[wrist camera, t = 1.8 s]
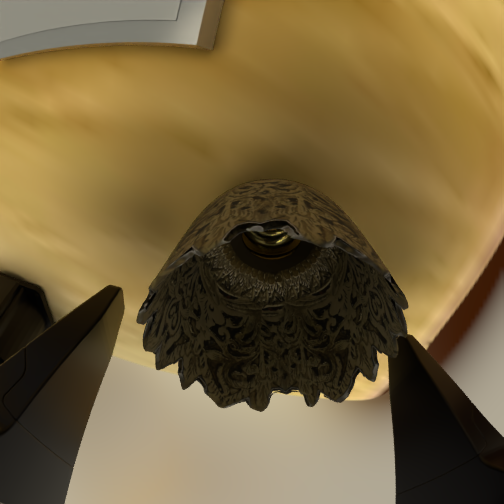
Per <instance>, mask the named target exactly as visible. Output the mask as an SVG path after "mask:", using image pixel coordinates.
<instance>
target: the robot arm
mask: <svg viewBox="0 0 504 504" xmlns="http://www.w3.org/2000/svg"><path fill="white" fill-rule="evenodd" d="M124 309H125V306H124V298H123V290H122V288H121V287H117V286H113V285H108V286H106V287H105V288H104V289H102V290H101V291H99V292H98V293H96V294H95V295H94V296H92V297H91V298H89V299H88V300H87V301H85V302H84V303H82V304H81V305H80V306H78V307H77V308H75V309H74V310H73V311H71V312H70V313H69V314H67V315H66V316H64V317H63V318H62V319H60V320H59V321H58V322H56V323H55V324H54V322H53V319H52V316H51V314H50V311H49V308H48V305H47V303H46V300H45V297H44V294H43V291H42V290H41V289H40V288H39V287H37V286H34V285H31V284H29V283H26V282H23V281H20V280H17V279H14V278H12V277H9V276H6V275H3V274H1V273H0V504H64V503H65V499H66V495H67V491H68V487H69V483H70V479H71V475H72V472H73V467H74V464H75V461H76V457H77V454H78V450H79V447H80V444H81V441H82V437H83V434H84V431H85V428H86V425H87V422H88V419H89V416H90V413H91V410H92V407H93V405H94V402H95V399H96V396H97V393H98V391H99V388H100V385H101V383H102V380H103V377H104V375H105V372H106V369H107V367H108V364H109V362H110V359H111V356H112V353H113V350H114V346H115V342H116V339H117V335H118V331H119V328H120V325H121V321H122V318H123V314H124ZM397 343H398V355H397V357H396V358H391V357H389V356H388V367H389V394H390V404H391V413H392V423H393V435H394V451H395V475H396V504H504V437H503V436H502V435H501V434H500V433H499V432H498V431H497V430H496V429H495V428H494V427H493V426H492V425H491V424H490V422H489V421H488V420H487V419H486V418H485V417H484V416H483V415H482V414H481V412H480V411H479V410H478V409H477V408H476V406H475V405H474V404H473V403H471V400H470V399H469V398H468V397H467V396H466V395H465V393H464V392H463V391H462V390H461V389H460V388H459V387H458V385H457V384H456V383H455V382H454V381H453V380H452V379H451V377H450V376H449V375H448V374H447V373H446V372H445V371H444V369H443V368H442V367H441V366H440V365H439V364H438V363H437V362H436V360H435V359H434V358H433V357H432V356H431V355H430V354H429V353H428V352H427V351H426V349H425V348H424V347H423V346H422V345H421V344H420V343H419V342H418V341H417V340H416V339H415V338H414V337H413V336H412V335H410V334H407V337H406V338H405V337H403V336H399V337H398V338H397Z"/></svg>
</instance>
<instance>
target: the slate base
mask: <svg viewBox="0 0 504 504" xmlns="http://www.w3.org/2000/svg"><path fill="white" fill-rule="evenodd" d="M223 3H224V0H0V61H2V60H7V59H11V58H16V57H21V56H26V55H31V54H36V53H42V52H49V51H56V50H64V49H73V48H83V47H97V46H121V45H146V46H171V47H185V48H196V49H206V50H213V46H214V41H215V37H216V32H217V28H218V24H219V19H220V15H221V11H222V7H223Z"/></svg>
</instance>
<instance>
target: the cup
mask: <svg viewBox="0 0 504 504" xmlns="http://www.w3.org/2000/svg"><path fill="white" fill-rule="evenodd" d="M274 228H276V229H281V230H279V231H275V232H268V231H266V230H270V229H274ZM148 289H149V294H148V296H147V298H146V300H145V301H144V303H143V304H142V306H141V308H140V310H139V313H138V316H137V323H139V324H142V325H144V324H145V323H146V322H147V323H146V327H145V331H144V334H143V347H144V350H145V351H149V352H153V354H155V355H156V356H155V359H156V360H155V365H156V369H157V370H160V369H163V368H165V367H167V366H169V365H171V364H172V363H173V364H175V363H177V362H178V367H179V368H178V375H179V378H180V382H181V386H182V389H183V390H185V389H187V388H188V387H189V386H190V385H191V384H193V383H194V381H196V380H197V381H198V382H199V383H200V384H201V385H202V386H203V388H204V392H205V394H207V395H208V396H209V397H210V398H211V399H212V400H213V401H214V402H215V403H216V404H217V406H218V407H221V408H227V407H230V406H232V405H235V404H237V403H241V402H245V401H246V403H247V404H248V405H249V406H250V408H252V409H254V410H257V411H260V412H262V411H264V410H265V409H266V408H267V406H268V404H269V402H270V398H271V396H272V395H273V393H272V391H277V392H280V393H283V394H289V393H291V392H298V391H291V390H299V392H300V393H301V394H303V396H304V398H305V402H306V404H307V406H309V407H313V406H314V405H315V404H316V403H317V402H318V399H319V396H320V392H321V393H323V394H324V397H327V398H329V399H330V400H333V401H334V402H339V403H341V402H342V401H344V400H345V399H346V398H347V397H348V396H349V394H350V392H351V390H352V389H353V386H354V383H355V379H356V377H357V375H358V374H359V373H360V372H361V373H362V375H363V376H364V377H366V378H367V379H368V380H370V381H372V382H375V380H376V376H377V371H378V367H379V363H378V360H377V351H378V352H379V353H381V354H382V352H383V353H384V354H385V355H387V356H389V357H391V358H396V357H397V355H398V343H397V338H398V337H399V336H403V337H405V338H406V337H407V324H406V320H405V317H404V314H403V311H402V309H403V310H405V309H407V308H408V302H407V300H406V297H405V295H404V294H403V292H402V291H401V289H400V288H399V287H398V285H397V284H396V282H395V280H394V279H393V277H392V276H391V274H390V272H389V270H388V269H387V268H386V267H385V265H384V264H383V262H382V261H381V259H380V258H379V256H378V255H377V254H376V252H375V251H374V249H373V248H372V247H371V245H370V244H369V242H368V241H367V240H366V238H365V237H364V236H363V234H362V233H361V232H360V230H359V229H358V228H357V226H356V225H355V224H354V223H353V221H352V220H351V219H350V218H349V217H348V216H347V215H346V214H345V212H344V211H343V210H342V209H341V208H340V207H339V206H338V205H336V204H335V203H334V202H333V201H332V200H330V199H329V198H328V197H327V196H325V195H323V194H322V193H320V192H318V191H317V190H315V189H313V188H311V187H309V186H307V185H304V184H301V183H298V182H294V181H289V180H281V179H265V180H257V181H252V182H248V183H245V184H242V185H239V186H237V187H235V188H233V189H231V190H229V191H227V192H226V193H224V194H223V195H221V196H220V197H218V198H217V199H215V200H214V201H213V202H212V203H211V204H209V205H208V206H207V207H206V208H205V209H204V210H203V212H202V213H201V214H200V215H199V216H198V217H197V218H196V220H195V221H194V222H193V223H192V225H191V226H190V227H189V229H188V230H187V232H186V233H185V234H184V236H183V237H182V239H181V240H180V242H179V243H178V245H177V246H176V248H175V249H174V251H173V252H172V254H171V255H170V257H169V258H168V260H167V261H166V263H165V264H164V266H163V268H162V269H161V271H160V272H159V274H158V275H157V277H156V278H155V279H154V281H153V282H152V283H151V285H150V286H149V288H148ZM401 308H402V309H401ZM278 390H280V391H278ZM271 393H272V394H271ZM274 393H276V392H274ZM270 395H271V396H270ZM325 395H326V396H325ZM269 397H270V398H269Z"/></svg>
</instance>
